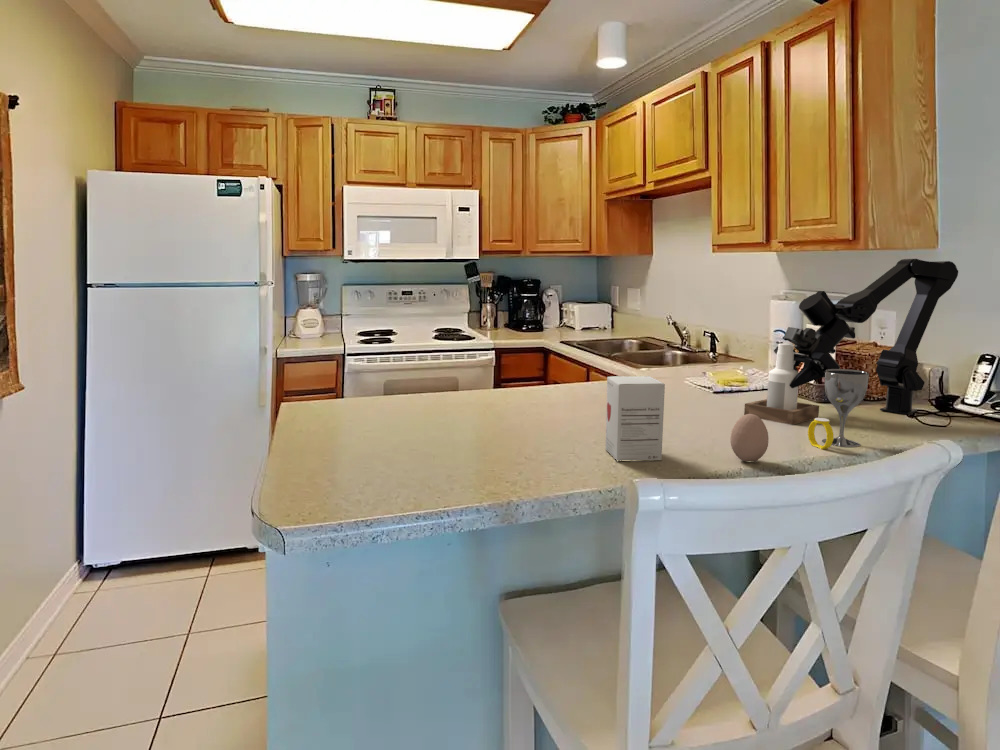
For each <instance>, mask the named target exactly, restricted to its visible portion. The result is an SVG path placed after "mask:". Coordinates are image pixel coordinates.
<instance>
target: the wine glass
mask: <svg viewBox="0 0 1000 750" xmlns="http://www.w3.org/2000/svg"><path fill="white" fill-rule="evenodd" d="M869 379H870V373H869V372H867V371H863V370H857V369H847V368H846V369H845V368H840V369H828V370H825V378H824V390H825V395H826V398H827V400H828V401H829V402H830V403H831V405H832V406H833V407H834V409H835V410H836V412H837V413H838V417H839V434H838V436H837V437H833V442H832V445H833V447H838V446H840V447H839V448H857V446H858V447H860V446H861V443H859V442H857V441H855V440H852V439H851V440H850V439H848V438H846V437H845V434H844V432H845V426H846V423H847V422H846V421H847V418H848V416H849V414H850V413H851V412H852V411H853V409H855V408H856V407H857V406H858V405H859V404H861V402H863V400H864V399H865V396H866V394H867V390H868V386H869V385H868V384H869ZM826 440H827V438H823V439H822V440H821V443H823V444H825V443H826ZM832 445H831V446H832Z"/></svg>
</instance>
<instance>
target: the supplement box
mask: <svg viewBox="0 0 1000 750" xmlns="http://www.w3.org/2000/svg"><path fill="white" fill-rule="evenodd" d="M665 385H666V383H664V382H662V381H660V380H658V379H657V378H654V377H652V376H650V375H642V376H641V375H640V376H637V375H635V376H629V375H628V376H625V375H624V376H623V375H622V376H621V375H620V376H618V375H616V376H615V375H614V376H613V375H612V376H607V378H606V415H605V416H606V417H605V421H606V422H605V451H606V452H607V451H608V452H609V453H610V454H611V455H612V456H613V457H614V458H615V459H616V460H618V461H620V460H621V461H622V460H661V459H662V458H663V457H662V456H663V455H662V453H663V434H664V414H665V413H664V410H665V409H664V408H665V389H666V386H665ZM609 453H608V454H609ZM610 454H609V455H610ZM611 455H610V456H611ZM612 456H611V457H612ZM613 457H612V458H613ZM614 458H613V459H614ZM615 459H614V460H615ZM616 460H615V461H616ZM661 461H662V460H661Z"/></svg>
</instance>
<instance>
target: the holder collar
mask: <svg viewBox="0 0 1000 750" xmlns="http://www.w3.org/2000/svg"><path fill="white" fill-rule="evenodd" d="M743 413H744V414H743V416H744V415H746V414H754V415H756V416H758V417H759V418H760V419H761V420H766V421H771V422H774V423H775V422H777V423H781V424H787V425H796V424H799V423H800V424H801V423H804V422H808V421H811V420H812V421H813V420H814V419H815V418H819V413H820V405H817V404H809V403H804V402H798V401H797V409H795V410H791V411H790V410H784V409H778V408H773V407H767V398H766V399H760V400H756V401H751V402H747V403H744V411H743Z"/></svg>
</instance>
